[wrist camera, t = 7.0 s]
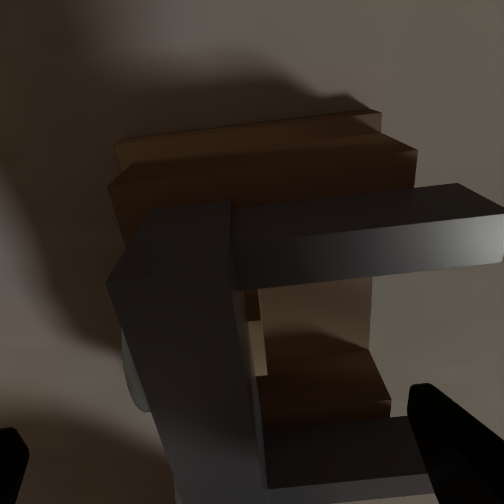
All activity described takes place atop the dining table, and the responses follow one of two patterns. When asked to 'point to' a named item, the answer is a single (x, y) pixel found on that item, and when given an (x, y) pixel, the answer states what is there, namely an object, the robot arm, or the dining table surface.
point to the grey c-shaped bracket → (239, 343)
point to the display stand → (294, 296)
